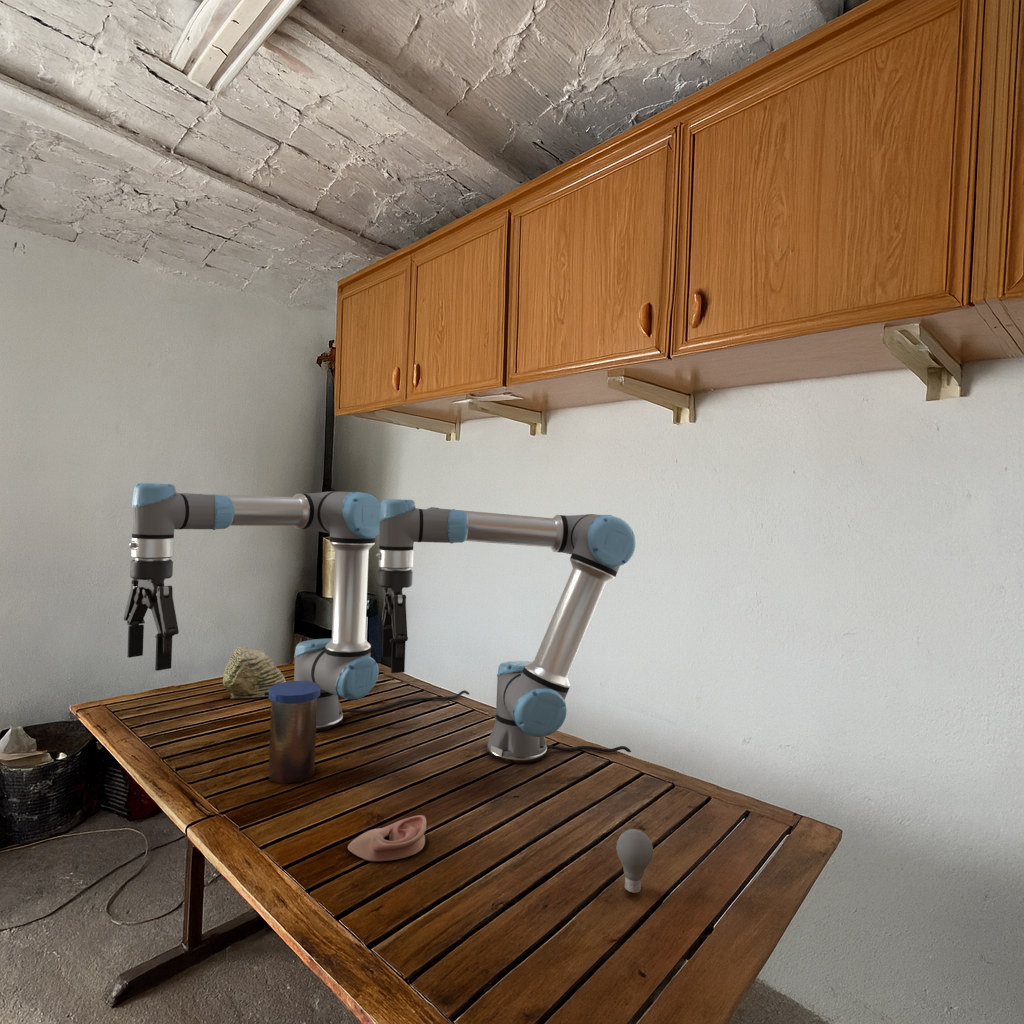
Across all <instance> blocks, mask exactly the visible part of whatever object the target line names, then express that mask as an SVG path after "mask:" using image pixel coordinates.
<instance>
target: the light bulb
mask: <svg viewBox="0 0 1024 1024" xmlns="http://www.w3.org/2000/svg"><path fill="white" fill-rule="evenodd" d="M615 849H616V854H617V857H618V859H619V861H620V863H621V865H622V867H623V873H624V874H623V875H624V876H625V878H624V888H625V890H627V891H628V892H630V893H634V894H635V893H639V892H640V891H641V889H642V887H641V886H642V879H643V877H644V875H645V871H646V868H647V867H648V866H649V864H650V863H651V861H652V859H653V855H654V847H653V843H652V841H651V838H649V836H648V835H647V834H646V833H645V832H643V831H642V830H641V829H636V828H629V829H627V830H625V831H623V832H622V833H621V834H620V835H619V837H618V839H617V841H616V847H615Z"/></svg>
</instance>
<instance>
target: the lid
mask: <svg viewBox="0 0 1024 1024" xmlns="http://www.w3.org/2000/svg"><path fill="white" fill-rule="evenodd" d="M320 694H321V689H320V685H319V684H317V683H314V682H309V681H294V680H291V681H286V682H283V683H278V684H275V685H273V686H271V687H270V688H269V692H268V696H267V698H268V700H270V701H274V702H278V703H302V702H308V701H311V700H314V699H316V698H318V697H319V696H320Z"/></svg>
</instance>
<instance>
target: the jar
mask: <svg viewBox="0 0 1024 1024" xmlns="http://www.w3.org/2000/svg"><path fill="white" fill-rule="evenodd" d="M270 701H271V700H270ZM316 717H317V698H316V699H314V700H311V701H308V702H302V703H278V702H274V701H271V702H270V723H269V724H270V725H269V750H268V751H269V753H268V755H269V756H268V779H269V780H270V781H272V782H274V783H279V784H295V783H299V782H304V781H306V780H308V779H310V778H311V777H312V776H314V774H315V768H316V765H315V764H316V743H317V741H316V740H317V732H316Z"/></svg>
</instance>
